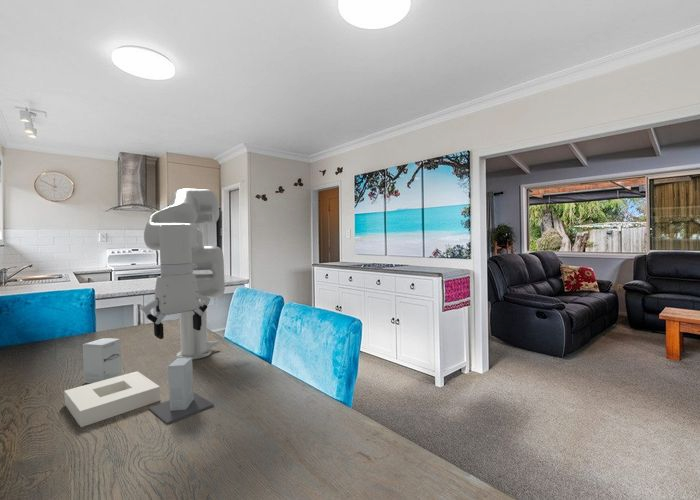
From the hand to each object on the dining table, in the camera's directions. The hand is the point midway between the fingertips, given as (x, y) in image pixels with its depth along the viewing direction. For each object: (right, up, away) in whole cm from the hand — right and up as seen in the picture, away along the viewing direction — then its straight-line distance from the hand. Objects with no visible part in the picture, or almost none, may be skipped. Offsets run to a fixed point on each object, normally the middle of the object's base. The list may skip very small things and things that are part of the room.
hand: (179, 333), depth 93 cm
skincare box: (+1, -20, 0) cm, 20 cm away
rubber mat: (0, -20, 0) cm, 20 cm away
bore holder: (-20, -20, +4) cm, 29 cm away
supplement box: (-35, -20, +20) cm, 45 cm away
